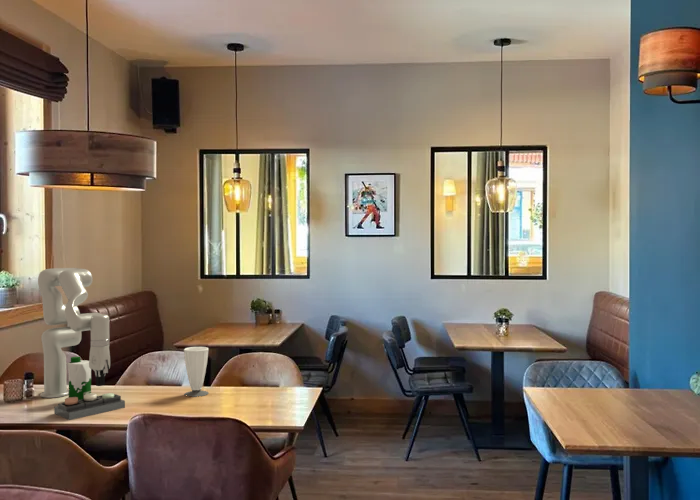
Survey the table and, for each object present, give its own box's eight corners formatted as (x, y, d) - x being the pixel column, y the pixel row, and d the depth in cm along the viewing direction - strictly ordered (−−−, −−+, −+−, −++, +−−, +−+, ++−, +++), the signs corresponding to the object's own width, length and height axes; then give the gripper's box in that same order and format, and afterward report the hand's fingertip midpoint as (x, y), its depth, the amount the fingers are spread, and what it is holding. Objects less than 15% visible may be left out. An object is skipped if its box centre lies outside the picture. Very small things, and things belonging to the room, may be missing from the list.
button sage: (99, 399, 259) (99, 394, 259) (110, 397, 262) (110, 392, 262) (105, 401, 255) (105, 396, 255) (116, 399, 259) (116, 394, 259)
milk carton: (77, 398, 273) (77, 355, 273) (95, 399, 271) (94, 356, 271) (64, 403, 264) (64, 359, 264) (82, 404, 262) (82, 359, 262)
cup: (213, 393, 282) (213, 347, 282) (195, 398, 273) (195, 351, 272) (197, 389, 289) (196, 345, 288) (178, 394, 279) (178, 349, 279)
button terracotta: (62, 403, 246) (62, 398, 246) (74, 401, 250) (74, 396, 250) (67, 405, 243) (67, 400, 243) (80, 403, 247) (80, 398, 247)
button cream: (81, 399, 252) (81, 394, 252) (93, 397, 256) (93, 392, 256) (87, 401, 249) (87, 396, 249) (98, 399, 253) (98, 394, 253)
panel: (54, 413, 248) (54, 402, 248) (109, 402, 266) (109, 391, 266) (69, 420, 239) (69, 408, 239) (124, 407, 257) (124, 397, 257)
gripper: (83, 342, 258) (83, 384, 258) (100, 346, 248) (100, 389, 249) (99, 340, 264) (99, 381, 264) (117, 343, 254) (117, 386, 254)
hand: (100, 385), depth 256 cm, fingers closed
